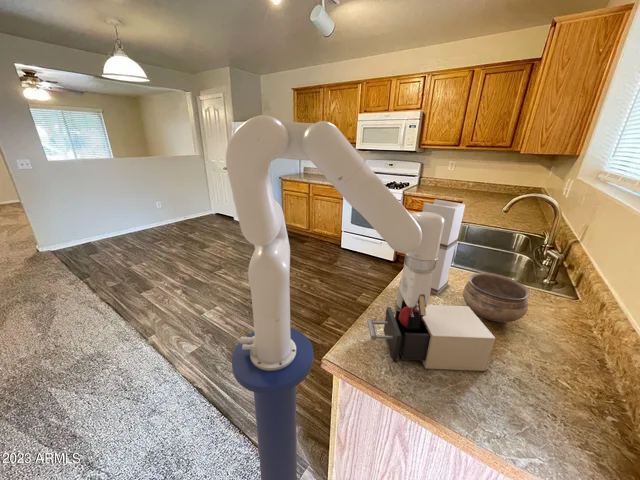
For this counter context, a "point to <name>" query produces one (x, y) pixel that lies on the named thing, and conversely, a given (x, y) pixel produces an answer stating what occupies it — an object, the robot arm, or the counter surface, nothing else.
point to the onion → (405, 315)
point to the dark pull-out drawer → (402, 337)
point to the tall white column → (445, 239)
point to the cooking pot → (496, 297)
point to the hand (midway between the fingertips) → (409, 319)
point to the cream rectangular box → (456, 339)
